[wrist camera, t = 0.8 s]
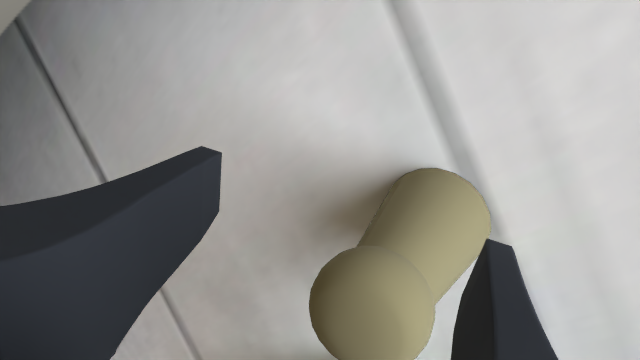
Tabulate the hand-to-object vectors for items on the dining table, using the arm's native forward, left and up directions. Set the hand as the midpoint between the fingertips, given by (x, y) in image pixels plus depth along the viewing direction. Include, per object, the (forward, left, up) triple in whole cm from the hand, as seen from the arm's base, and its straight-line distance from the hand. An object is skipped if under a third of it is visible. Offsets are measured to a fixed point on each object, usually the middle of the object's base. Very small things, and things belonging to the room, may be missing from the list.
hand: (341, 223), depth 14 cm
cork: (-3, +6, -15) cm, 17 cm away
